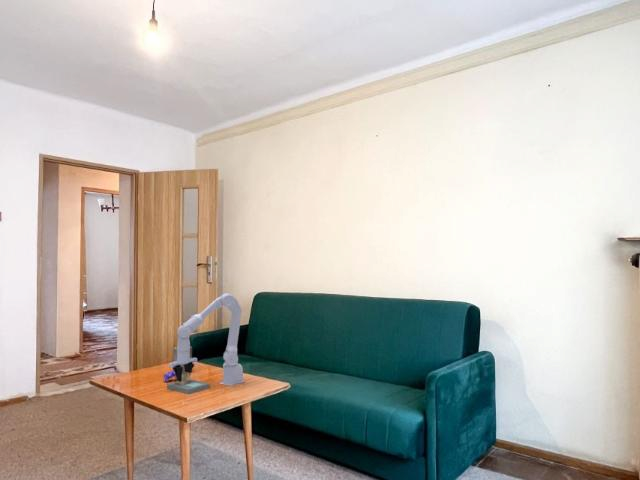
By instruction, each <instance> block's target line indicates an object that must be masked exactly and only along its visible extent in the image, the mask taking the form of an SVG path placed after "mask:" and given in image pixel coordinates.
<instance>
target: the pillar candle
mask: <svg viewBox="0 0 640 480" xmlns="http://www.w3.org/2000/svg"><path fill="white" fill-rule="evenodd" d="M190 358H193V347H192V346H191V345H190ZM175 361H177V346H175V347H173V362H175ZM180 366H181V367H183V371H182V372H185V368H184V365H180ZM192 372H193V370H192V371H191V373H192Z"/></svg>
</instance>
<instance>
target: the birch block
mask: <svg viewBox="0 0 640 480" xmlns="http://www.w3.org/2000/svg"><path fill="white" fill-rule="evenodd" d="M189 374H190V373H188V372H182V379H181V382H179V381H177V380H176V382H177V384H181V385H183V384H187V383H189V379H190V378H189ZM190 375H191V374H190Z"/></svg>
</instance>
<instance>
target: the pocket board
mask: <svg viewBox="0 0 640 480" xmlns="http://www.w3.org/2000/svg"><path fill="white" fill-rule="evenodd" d="M166 389H167V390H169V391H174V392H179V393H182V394H186V395H191V394H194V393H197V392H202V391H204V390H208V389H211V383H208V382H204V381H201V380H195V379H192V378H189V383H187V384H183V385H181V384H177V381H173V382H172V383H171V382H170V383H167V384H166Z"/></svg>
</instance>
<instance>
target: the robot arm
mask: <svg viewBox="0 0 640 480" xmlns="http://www.w3.org/2000/svg"><path fill="white" fill-rule="evenodd" d="M223 307H226V308H227V309H228V310H229V312H231V317H230V321H229V322H230V323H229V329H228V330H229V331H228V337H227V345H226V348H225V351H224V352H223V357H222V359H223V360H224V362H223V364H222V381H221V382H219V384H220V385H225V386H235V385H237V384H241V383H245V381H244V373H243V372H244V369H243V365H242V364H241V363H238V362H239V357H238V341H239V334H240V326H241V319H242V308H241V305H240V304H239V301H238V299H237V298H236V297H235V296H234V295H233V294H231V293H229V292H228V293H227V292H225V293H223V294H221V295H220V296H218V297H217V298H216V299H214V300H213V301H212V302H211V303H210V304H209V305H207V306H206V307H205V308H204V309H203V310H202V311H201V312H200V313H195V314H194V315H193V314H192V315H191V316H190V318H189V319H188V320H187V321H185V322H183V323H182V325H180V326H179V327H178V328H177V331H176V332H177V346H176V347H177V361H175V362H174V361H172V362H169V363H168V368H171V369H172V370H174V372H175V374H176V377H177V378H176V382H177V381H179V382H181V379H182V370H183V367H181V366H180V365H184V368H185V372H188V373H190V374H189V379H191V378H190V376H191V373H192V372H193V369H194V367H195V363H197V362H198V358H197V357H192V358H190V346H191V341H190V336H191V334H192V333H194V332H195V331H196V330H197V329H198V328H200V326H202V325H203V323H204V319H205V318H206V317H208V316H209V315H210V314H211V313H213V312H215V310H217V309H221V308H223ZM191 371H192V372H191Z"/></svg>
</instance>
